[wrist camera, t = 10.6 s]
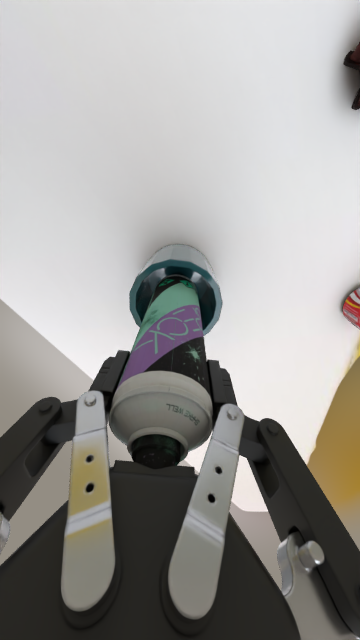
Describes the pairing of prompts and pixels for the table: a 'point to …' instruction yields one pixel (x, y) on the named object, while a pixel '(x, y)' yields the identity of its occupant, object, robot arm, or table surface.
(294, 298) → the table surface
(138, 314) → the crock
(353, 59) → the mate gourd
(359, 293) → the soda can
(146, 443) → the spray can
